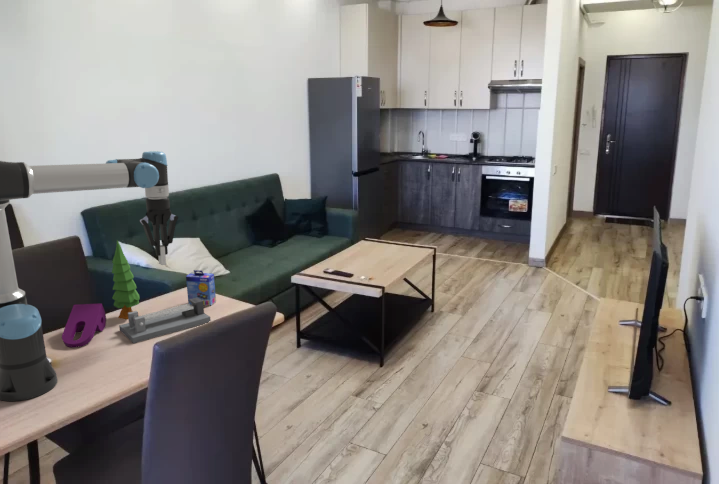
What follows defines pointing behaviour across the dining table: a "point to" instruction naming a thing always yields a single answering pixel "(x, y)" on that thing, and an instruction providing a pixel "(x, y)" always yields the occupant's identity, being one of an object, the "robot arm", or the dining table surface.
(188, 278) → the ink cartridge box
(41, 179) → the robot arm
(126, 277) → the decorative tree
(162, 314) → the grey long flat bar
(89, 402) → the dining table surface
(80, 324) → the mounting bracket
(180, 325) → the latch base
